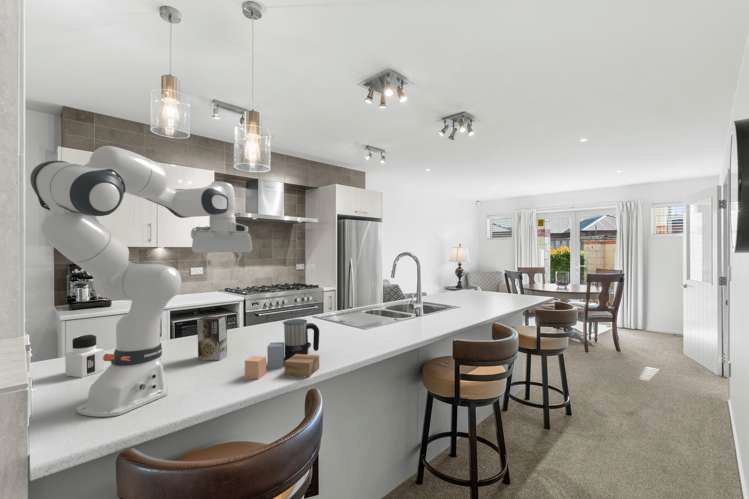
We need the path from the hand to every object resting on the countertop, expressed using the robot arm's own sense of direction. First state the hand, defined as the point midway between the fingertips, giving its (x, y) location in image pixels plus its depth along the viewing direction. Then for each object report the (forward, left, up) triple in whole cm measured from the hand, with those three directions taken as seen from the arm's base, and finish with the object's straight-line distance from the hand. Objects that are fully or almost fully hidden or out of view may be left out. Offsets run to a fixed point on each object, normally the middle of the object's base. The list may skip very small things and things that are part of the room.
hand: (223, 265), depth 134 cm
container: (-16, +44, -37) cm, 60 cm away
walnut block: (0, -30, -38) cm, 48 cm away
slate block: (+5, -18, -37) cm, 42 cm away
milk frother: (+18, -21, -38) cm, 47 cm away
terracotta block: (-6, -16, -37) cm, 41 cm away
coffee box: (+9, +11, -37) cm, 40 cm away
